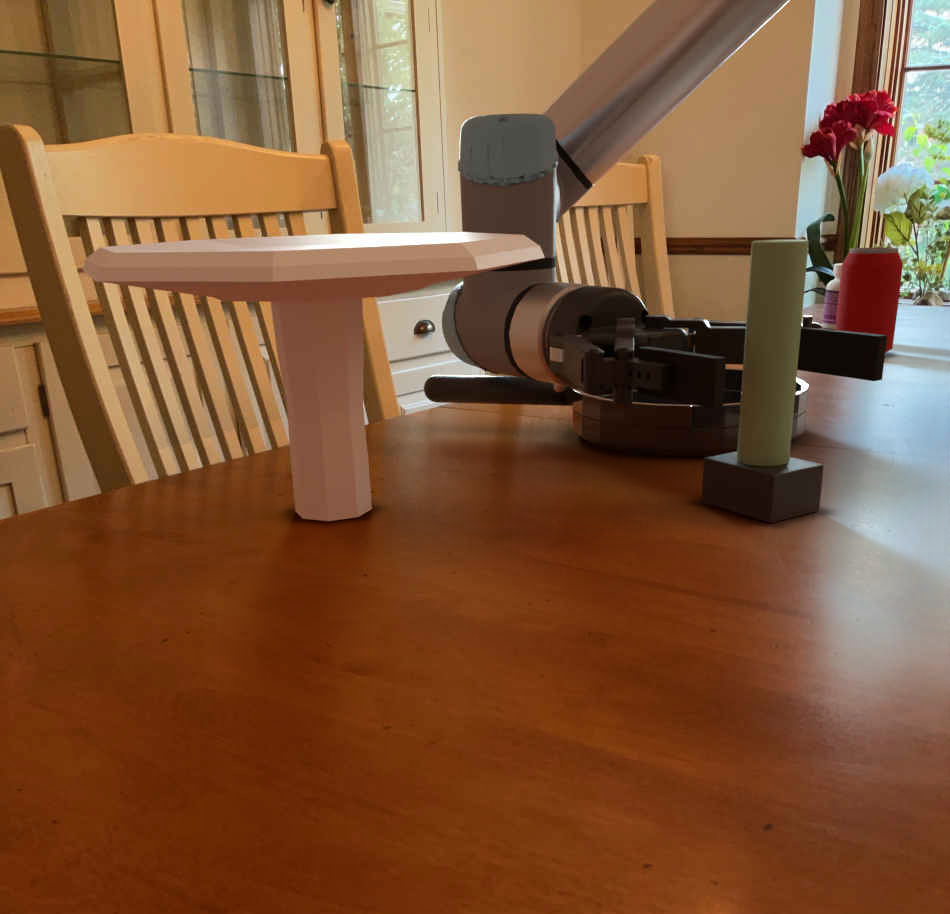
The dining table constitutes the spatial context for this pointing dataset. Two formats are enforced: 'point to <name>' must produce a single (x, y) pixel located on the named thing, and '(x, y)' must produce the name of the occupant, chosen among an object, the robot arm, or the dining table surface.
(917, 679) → the dining table surface
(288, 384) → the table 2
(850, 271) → the beverage can
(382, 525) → the dining table surface
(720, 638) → the dining table surface
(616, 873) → the dining table surface
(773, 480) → the green peg on base
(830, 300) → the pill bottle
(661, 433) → the frying pan
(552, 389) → the pan handle
